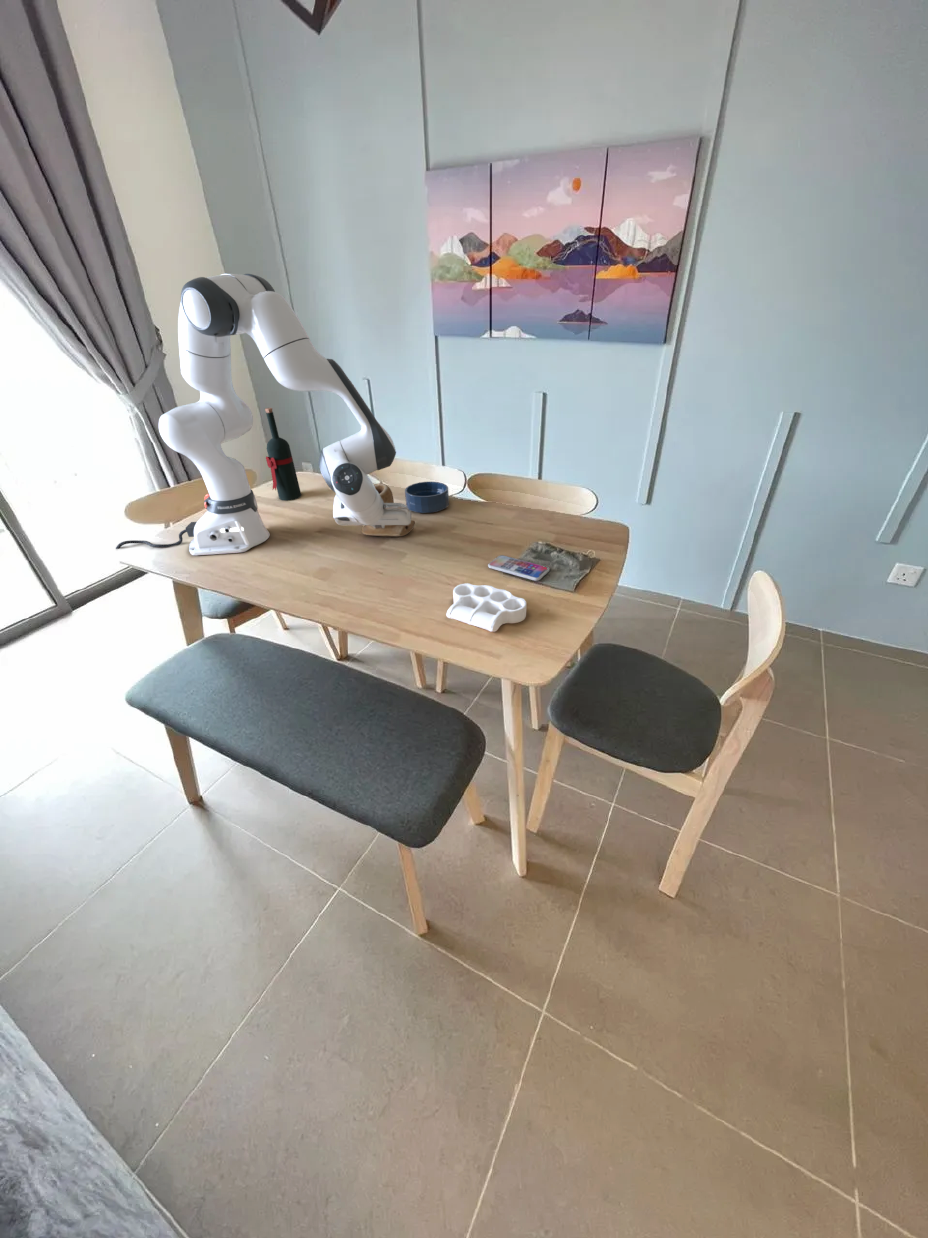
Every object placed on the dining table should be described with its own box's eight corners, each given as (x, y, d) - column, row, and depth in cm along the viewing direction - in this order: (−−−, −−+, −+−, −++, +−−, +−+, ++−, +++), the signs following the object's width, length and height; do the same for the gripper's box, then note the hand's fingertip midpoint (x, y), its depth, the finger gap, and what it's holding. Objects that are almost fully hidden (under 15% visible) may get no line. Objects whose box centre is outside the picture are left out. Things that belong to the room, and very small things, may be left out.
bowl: (411, 517, 158) (409, 499, 155) (403, 501, 170) (401, 484, 166) (453, 510, 161) (452, 493, 158) (443, 496, 173) (442, 479, 169)
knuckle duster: (434, 617, 111) (468, 587, 121) (506, 640, 103) (535, 606, 113) (433, 604, 109) (467, 575, 119) (506, 627, 101) (536, 594, 111)
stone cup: (355, 540, 145) (346, 491, 137) (371, 524, 155) (363, 477, 146) (403, 544, 142) (397, 494, 133) (416, 527, 151) (411, 479, 143)
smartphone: (500, 553, 133) (551, 567, 126) (500, 557, 133) (550, 570, 126) (486, 564, 128) (538, 579, 121) (486, 568, 128) (538, 582, 121)
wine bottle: (269, 500, 175) (244, 411, 158) (290, 491, 182) (269, 404, 165) (285, 504, 172) (261, 413, 155) (306, 494, 179) (286, 406, 162)
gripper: (407, 494, 125) (416, 514, 139) (328, 494, 127) (345, 515, 140) (405, 517, 124) (415, 536, 138) (327, 518, 126) (344, 536, 139)
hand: (379, 525), depth 139 cm, fingers closed
